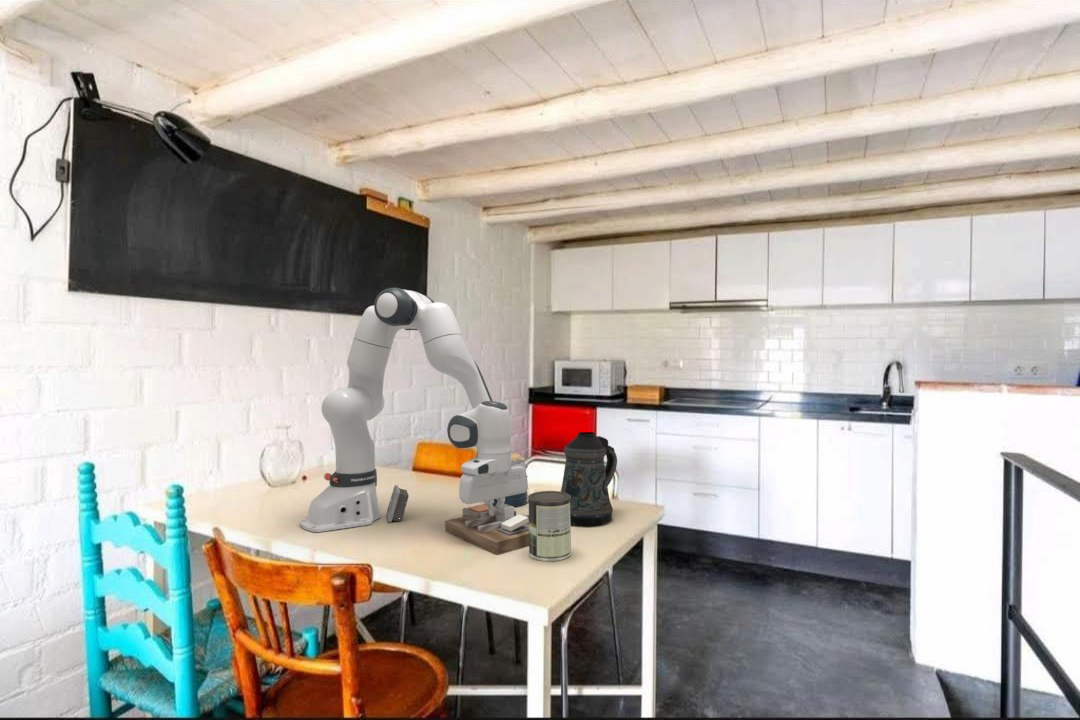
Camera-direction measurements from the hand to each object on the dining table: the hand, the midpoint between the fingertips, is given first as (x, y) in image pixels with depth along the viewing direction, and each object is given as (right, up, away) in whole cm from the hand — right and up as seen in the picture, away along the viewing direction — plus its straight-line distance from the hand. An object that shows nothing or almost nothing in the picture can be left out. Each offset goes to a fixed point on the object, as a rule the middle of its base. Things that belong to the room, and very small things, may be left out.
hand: (495, 514), depth 154 cm
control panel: (+1, -6, +1) cm, 6 cm away
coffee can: (+14, -6, -14) cm, 21 cm away
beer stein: (+25, -5, +16) cm, 31 cm away
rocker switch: (+5, -1, -5) cm, 8 cm away
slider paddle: (+2, -3, +2) cm, 4 cm away
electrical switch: (-31, -6, +17) cm, 36 cm away
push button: (-4, -2, +6) cm, 8 cm away
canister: (+1, -5, +34) cm, 34 cm away
